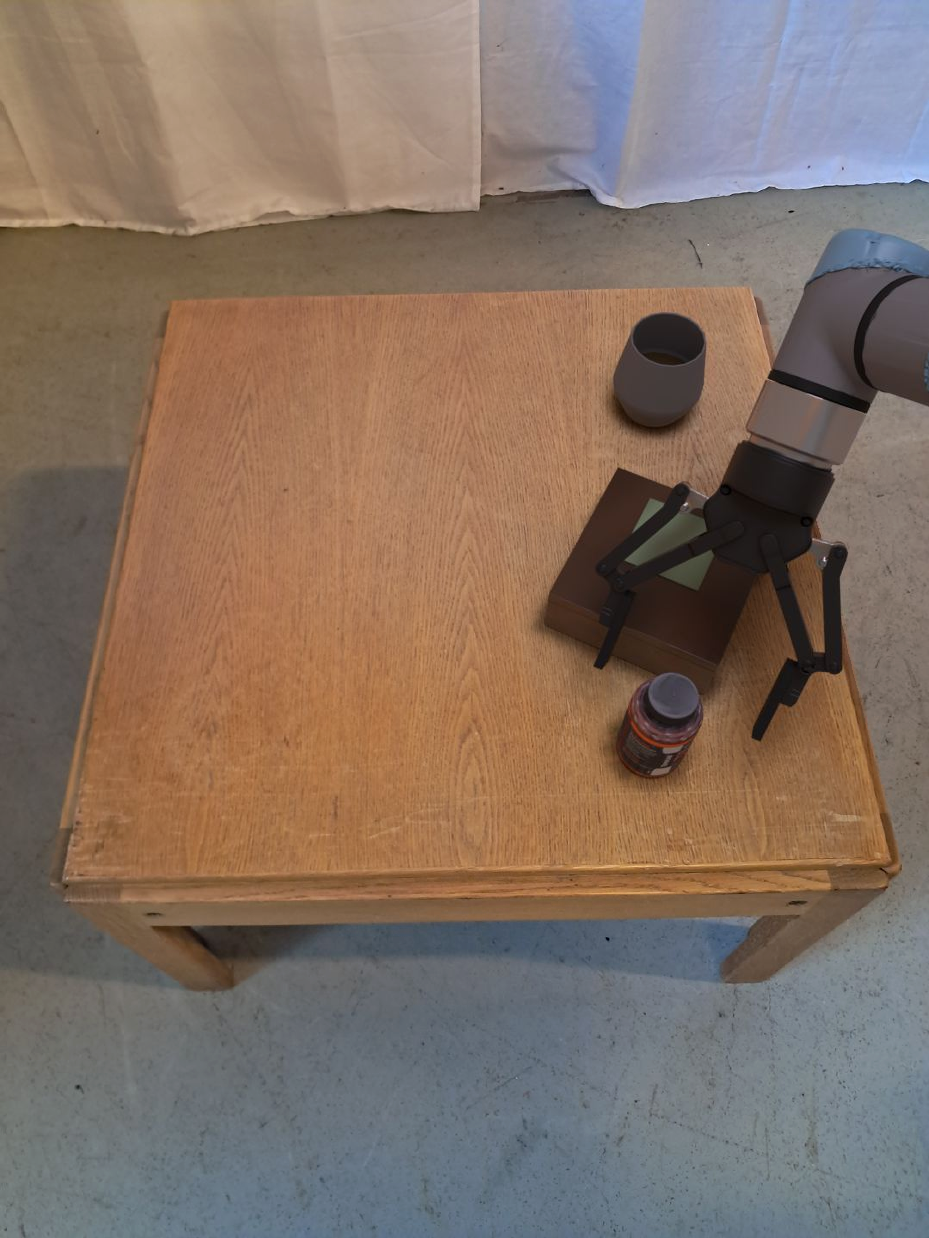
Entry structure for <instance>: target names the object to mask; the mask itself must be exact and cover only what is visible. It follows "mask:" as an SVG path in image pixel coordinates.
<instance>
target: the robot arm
mask: <svg viewBox="0 0 929 1238" xmlns="http://www.w3.org/2000/svg"><path fill="white" fill-rule="evenodd" d="M802 292H803V294H802V295H801V298H800V301H799V302H798V305H797V307H796V310H795V312H794V314H793V317H792V319H791V321H790V324H789V326H788V328H787V331H786V332H785V335H784V338H783V340H782V343H781V345H780V347H779V349H778V351H777V354H776V356H775V359H774V360H773V363H772V366H771V370H770V371H769V373H768V375H767V379H765V380H764V383H763V385H762V387H761V390H760V392H759V394H758V397H757V398H756V401H755V403H754V406H753V408H752V410H751V411H750V415H749V417H748V419H747V422H746V424H745V426H744V428H745V431H746V433H748V434H750V435H749V438H748V440H747V439H742V440H741V442H737V445H736V447H735V449H734V452H733V454H732V456H731V458H730V461H729V463H728V465H727V467H726V469H725V472H724V474H723V477H722V479H721V480H720V483H719V486H718V488H717V489H716V490H715V492H714V493H713V494H712V495H711V496H709V495H707V494H705V493H703V492H701V491H699V490H697V489H695V488H694V487H692V485H691V483H689V482H688V481H685V480H683V481H681V482H679V483H677V484H675V485H674V486H673V487H672V488H673V490H672V492H671V493H670V495H669V497H668V499H667V500H666V502H665V504H664V506H663V507H662V508H661V509H660V510H659V511H658V512H656V513H655V514H654V515H653V516H652V517H651V518H649V519H648V520H647V521H646V522H645V523H644V524H643V525H641V526H640V527H639V528H638V529H637V530H636V531H634V532H633V533H632V534H631V535H630V536H629V537H627V538H626V539H625V540H624V541H623V542H622V543H621V544H619V545H618V546H617V547H616V548H615V549H614V550H612V551H611V552H610V553H609V554H608V555H607V556H606V557H604V558H603V559H602V560H601V561H600V562H599V563H598V564H597V565H596V567H595V571H596V573H597V574H598V575H599V576H602V577H603V578H604V579H605V580H607V581H608V583H609V584H610V593H609V595H608V597H607V600H606V602H605V605H604V607H603V610H602V612H601V614H600V617H599V624H601V625H603V626H605V627H608V628H609V630H608V633H607V635H606V637H605V640H604V642H603V645H602V647H601V649H599V652H598V654H597V657H596V659H595V662H594V664H593V665H592V667H594V668H596V669H598V670H600V671H603V669H604V668H605V666H606V665H607V664H608V663H609V660H610V658H611V656H612V654H611V653H612V651H613V649H614V646H615V644H616V642H617V639H618V637H619V635H620V632H621V630H622V628H623V625H624V623H625V620H626V618H627V616H628V613H629V611H630V609H631V606H632V604H633V602H634V599H635V597H636V595H637V593H636V592H633V591H631V590H629V589H630V588H632V587H634V586H636V585H638V584H640V583H642V582H644V581H646V580H649V579H651V578H653V577H655V576H657V575H659V574H661V573H663V572H665V571H667V570H669V569H671V568H673V567H675V566H677V565H679V564H681V563H684V562H686V561H688V560H690V559H692V558H694V557H697V556H699V555H701V554H703V553H705V552H707V551H710V550H712V552H713V554H714V555H715V556H716V557H717V558H718V561H721V562H723V563H725V564H729V565H736V566H739V567H740V568H742V569H743V570H744V571H746V572H747V573H750V574H752V575H755V576H757V577H758V576H765V575H768V574H769V575H770V579H771V582H772V585H773V589H774V590H775V594H776V597H777V600H778V603H779V606H780V609H781V613H782V616H783V619H784V622H785V624H786V629H787V631H788V635H789V638H790V642H791V645H792V648H793V651H794V654H795V658H796V660H795V659H793V658H791V657H788V656H786V658H785V660H784V663H783V665H782V667H781V669H780V671H779V673H778V675H777V677H776V679H775V681H774V683H773V685H772V687H771V690H770V691H769V693H768V695H767V697H766V699H765V701H764V703H763V705H762V707H761V709H760V711H759V713H758V716H757V717H756V719H755V721H754V722H753V723H754V724H753V725H752V728H751V736H750V738H751V739H753V740H755V741H758V742H759V743H761V741H762V740H763V738H764V736H765V734H766V731H767V729H768V728H769V725H770V724H771V722H772V720H773V718H774V716H775V714H776V712H777V710H778V708H779V706H780V704H781V705H784V706H786V707H788V708H792V707H794V706H795V705H796V704H797V703H798V700H799V699H800V697H801V695H802V693H803V690H804V689H805V687H806V685H807V683H808V681H809V680H810V677H811V676H812V675H814V674H815V673H828V674H830V675H834V676H835V675H839V674H841V672H842V671H843V667H844V661H843V632H842V630H843V628H842V627H843V626H842V599H841V575H842V573H843V571H844V568H845V565H846V563H847V560H848V556H849V552H848V548H847V546H846V544H845V543H844V542H842V541H837V540H836V541H834V542H831V541H827V540H824V539H820V538H816V537H813V528H814V525H815V523H816V520H817V518H818V517H819V514H820V512H821V510H822V508H823V506H824V504H825V502H826V500H827V497H828V496H829V493H830V491H831V489H832V487H833V485H834V484H835V481H836V478H835V477H834V476H835V473H834V472H833V466H840V465H843V464H844V462H845V461H846V459H847V456H848V454H849V452H850V450H851V448H852V446H853V444H854V442H855V440H856V438H857V435H858V433H859V431H860V430H861V427H862V425H863V423H864V421H865V419H866V417H867V414H868V412H869V411H870V408H871V405H873V402H874V400H875V398H876V396H877V394H878V393H879V392H881V393H884V394H891V395H893V396H896V397H899V398H903V399H905V400H908V401H911V402H913V403H916V404H920V405H922V406H925V407H928V408H929V250H928V249H927V248H925V247H923V246H922V245H920V244H918V243H915V242H912V241H911V240H908V239H904V238H902V237H899V236H897V235H893V234H889V233H881V232H877V231H875V230H871V229H868V228H855V227H854V228H846V229H843V230H840V231H838V232H837V233H835V234H834V235H833V236H832V237H831V238H830V239H829V241H828V242H827V245H826V246H825V248H824V250H823V252H822V254H821V256H820V258H819V260H818V261H817V264H816V266H815V268H814V270H813V271H812V274H811V275H810V277H809V279H808V280H806V282H805V284H804V286H803V291H802ZM695 508H700V509H703V510H702V512H703V517H704V521H705V526H706V530H707V531H706V532H704V533H702V534H700V535H698V536H696V537H694V538H692V539H690V540H688V541H686V542H684V543H682V544H680V545H678V546H676V547H674V548H672V549H670V550H668V551H666V552H664V553H662V554H660V555H658V556H656V557H654V558H652V559H650V560H648V561H646V562H644V563H642V564H640V565H638V566H636V567H634V568H632V569H630V570H628V571H626V572H624V571H623V570H622V569H621V568H620V567H619V566H618V565H619V564H620V563H622V562H623V561H624V560H625V559H626V558H627V557H629V556H630V555H631V554H632V553H633V552H634V551H636V550H637V549H638V548H639V547H640V546H642V545H643V544H644V543H645V542H646V541H647V540H649V539H650V538H651V537H652V536H653V535H654V534H656V533H657V532H658V531H659V530H660V529H661V528H663V527H664V526H665V525H666V524H667V523H668V522H670V521H671V520H672V519H673V518H674V517H675V516H676V515H677V514H678V513H680V514H684V515H685V514H688V513H690V512H691V511H692V510H693V509H695ZM808 552H809V553H811V554H812V555H813V556H814V565H815V567H816V568H817V569H818V570H821V571H822V572H821V592H822V593H821V594H822V595H821V596H822V616H823V617H822V620H823V645H824V646H823V647H824V648H823V649H824V650H823V651H824V652H822V651H815V650H814V647H813V644H812V641H811V638H810V634H809V631H808V628H807V625H806V621H805V619H804V618H805V617H804V615H803V612H802V609H801V605H800V602H799V600H798V599H799V598H798V596H797V593H796V590H795V586H794V583H793V580H792V576H791V571H790V569H789V565H788V564H789V563H791V562H792V561H794V560H796V559H798V558H800V557H802V556H803V555H805V554H806V553H808Z"/></svg>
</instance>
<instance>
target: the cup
mask: <svg viewBox="0 0 929 1238" xmlns="http://www.w3.org/2000/svg"><path fill="white" fill-rule="evenodd" d="M707 343H708V342H707V339H706V333H705V331H704V330H703V329H702V327H701V326H700V325H699V323H697V322H696V321H695V320H693V319H692V318H691V317H688V316H685V315H683V314H680V313H678V312H669V311H661V312H654V313H650V314H648V315H646V316H643V317H642V318H640V319H639V320H638V321H637V322H636V323H635V324H634V325H633V326H632V328H631V331H630V334H629V336H628V338H627V340H626V343H625V345H624V347H623V350H622V352H621V354H620V357H619V359H618V361H617V364H616V366H615V370H614V373H613V375H612V381H613V390H614V394H615V396H616V399H617V400H618V401H619V403H620V405H621V407H622V408H623V410H624V412H625V413H626V415H627V417H628V418H630V419H631V420H632V421H634V422H635V423H637V424H640V425H641V426H643V427H651V428H659V427H661V428H662V427H666V426H668V425H671V424H672V423H674V422H676V421H677V420H679V419H681V418H682V417H683V416H685V415H686V414H688V413H689V412H690V411H691V410H692V409H693V408H694V406H695V405H696V404H697V403H698V402H699V400H700V399H701V396H702V393H703V389H704V386H705V385H704V384H705V372H706V358H707Z"/></svg>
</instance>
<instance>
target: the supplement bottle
mask: <svg viewBox="0 0 929 1238" xmlns="http://www.w3.org/2000/svg"><path fill="white" fill-rule="evenodd" d="M704 714H705V713H704V706H703V701H702V700H701V698H700V693H698V690H697V688H696V686H695V685H694V683H693V682H692V681H691V680H690V679H689V678H687V677H685V676H683V675H681V674H678V673H664V674H661V675H657V676H656V677H655V676H654V677H652V678H649V679H647V680H644V682H642V683H641V684H640V685H639V686H638V687H637V688H636V689H635V690H634V692H633V693H632V695H631V698H630V701H629V703H628V706H627V709H626V711H625V714H624V717H623V720H622V722H621V725H620V728H619V730H618V734H617V739H616V746H617V752H618V756H619V758H620V759H621V761H622V762H623V764H624V765H625V766H626V767H627V768H628V769H629V770H630V771H632V772H633V773H635V774H637V775H639V776H641V777H646V778H661V777H664V776H667V775H669V774H671V773H672V772H674V771H675V770H676V769H677V767H678V766H679V765H680V764H681V762H682V761H683V759H684V758H685V756H686V755H687V753H688V751H689V749H690V747H691V746H692V744H693V742H694V740H695V738H696V736H697V735H698V733H699V731H700V729H701V727H702V725H703V721H704Z"/></svg>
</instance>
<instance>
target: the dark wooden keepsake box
mask: <svg viewBox="0 0 929 1238" xmlns="http://www.w3.org/2000/svg"><path fill="white" fill-rule="evenodd" d="M673 488H674V487H671V486H668V485H666V484H663V483H661V482H658V481H655V480H652V479H651V478H647V477H645V476H643V475H640V474H637V473H635V472H632V471H630V470H627V469H624V468H622V467H620V466H618V467H617V468H616V470H615V472H614V473H613V475H612V477H611V479H610V480H609V482H608V484H607V486H606V488H605V490H604V492H603V494H602V495H601V497H600V499H599V500H598V502H597V504H596V506H595V508H594V510H593V512H592V514H591V515H590V517H589V519H588V521H587V523H586V525H585V526H584V528H583V530H582V532H581V534H580V535H579V538H577V541H576V542H575V544H574V546H573V548H572V550H571V551H570V554H569V556H568V557H567V559H566V561H565V563H564V565H563V567H562V568H561V570H560V571H559V574H558V576H557V577H556V579H555V581H554V583H553V584H552V586H551V589H550V590H549V592H548V596H547V604H546V611H545V619H544V626H545V627H548V628H550V629H553V630H555V631H557V632H559V633H562V634H564V635H566V636H568V637H571V638H573V639H576V640H577V641H580V642H582V643H584V644H587V645H589V646H591V647H594V648H596V649H598V650H600V649H601V647H602V645H603V642H604V640H605V637H606V635H607V633H608V630H609V628H608V627H605V626H603V625H601V624H599V617H600V614H601V612H602V610H603V607H604V605H605V602H606V600H607V597H608V595H609V593H610V584H609V583H608V581H607V580H605V579H604V578H603V577H602V576H599V575H598V574H597V573H596V571H595V567H596V565H597V564H598V563H599V562H600V561H601V560H602V559H603V558H604V557H606V556H607V555H608V554H609V553H610V552H611V551H612V550H614V549H615V548H616V547H617V546H618V545H619V544H621V543H622V542H623V541H624V540H625V539H626V538H627V537H629V536H630V535H631V534H632V533H633V532H634V531H636V530H637V529H638V528H639V527H640V526H641V525H643V524H644V523H645V522H646V521H647V520H648V519H649V518H651V517H652V516H653V515H654V514H655V513H656V512H658V511H659V510H660V509H661V508H662V507H663V506H664V504H665V502H666V500H667V499H668V497H669V495H670V493H671V492H672V490H673ZM702 510H703V509H700V508H695V509H693V510H692V511H691V512H690V513H688V514H685V515H684V514H680V513H678V514H677V515H676V516H675V517H674V518H673V519H672V520H671V521H670V522H668V523H667V524H666V525H665V526H664V527H663V528H661V529H660V530H659V531H658V532H657V533H656V534H654V535H653V536H652V537H651V538H650V539H649V540H647V541H646V542H645V543H644V544H643V545H642V546H640V547H639V548H638V549H637V550H636V551H634V552H633V553H632V554H631V555H630V556H629V557H627V558H626V559H625V560H624V561H623V562H622V563H620V564H619V565H618V566H619V567H620V568H621V569H622V570H623V571H624V572H626V571H628V570H630V569H632V568H634V567H636V566H638V565H640V564H642V563H644V562H646V561H648V560H650V559H652V558H654V557H656V556H658V555H660V554H662V553H664V552H666V551H668V550H670V549H672V548H674V547H676V546H678V545H680V544H682V543H684V542H686V541H688V540H690V539H692V538H694V537H696V536H698V535H700V534H702V533H704V532H706V531H707V530H706V526H705V521H704V517H703V512H702ZM757 577H758V575H757V576H755V575H752V574H750V573H747V572H746V571H744V570H743V569H742V568H740V567H739V566H736V565H729V564H725V563H723V562H721V561H718V558H717V557H716V556H715V555H714V554H713V552H712V550H710V551H707V552H705V553H703V554H701V555H699V556H697V557H694V558H692V559H690V560H688V561H686V562H684V563H681V564H679V565H677V566H675V567H673V568H671V569H669V570H667V571H665V572H663V573H661V574H659V575H657V576H655V577H653V578H651V579H649V580H646V581H644V582H642V583H640V584H638V585H636V586H634V587H632V588H630V589H629V590H631V591H633V592H636V593H637V595H636V597H635V599H634V602H633V604H632V606H631V609H630V611H629V613H628V616H627V618H626V620H625V623H624V625H623V628H622V630H621V632H620V635H619V637H618V639H617V642H616V644H615V646H614V649H613V651H612V653H611V656H614V657H615V658H619V659H621V660H623V661H625V662H628V663H630V664H632V665H634V666H637V667H639V668H642V669H643V670H646V671H648V672H650V673H652V674H655V675H657V676H659V675H661V674H664V673H678V674H681V675H683V676H685V677H687V678H689V679H690V680H691V681H692V682H693V683H694V685H695V686H696V688H697V690H698V693H699V695H705V693H706V691H707V689H708V687H709V685H710V683H711V682H712V680H713V678H714V676H715V674H716V672H717V670H718V668H719V667H720V665H721V662H722V659H723V657H724V655H725V652H726V650H727V648H728V645H729V643H730V641H731V638H732V636H733V633H734V632H735V629H736V627H737V624H738V621H739V620H740V617H741V615H742V612H743V610H744V607H745V606H746V603H747V601H748V598H749V596H750V594H751V592H752V589H753V587H754V585H755V582H756V580H757Z"/></svg>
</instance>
